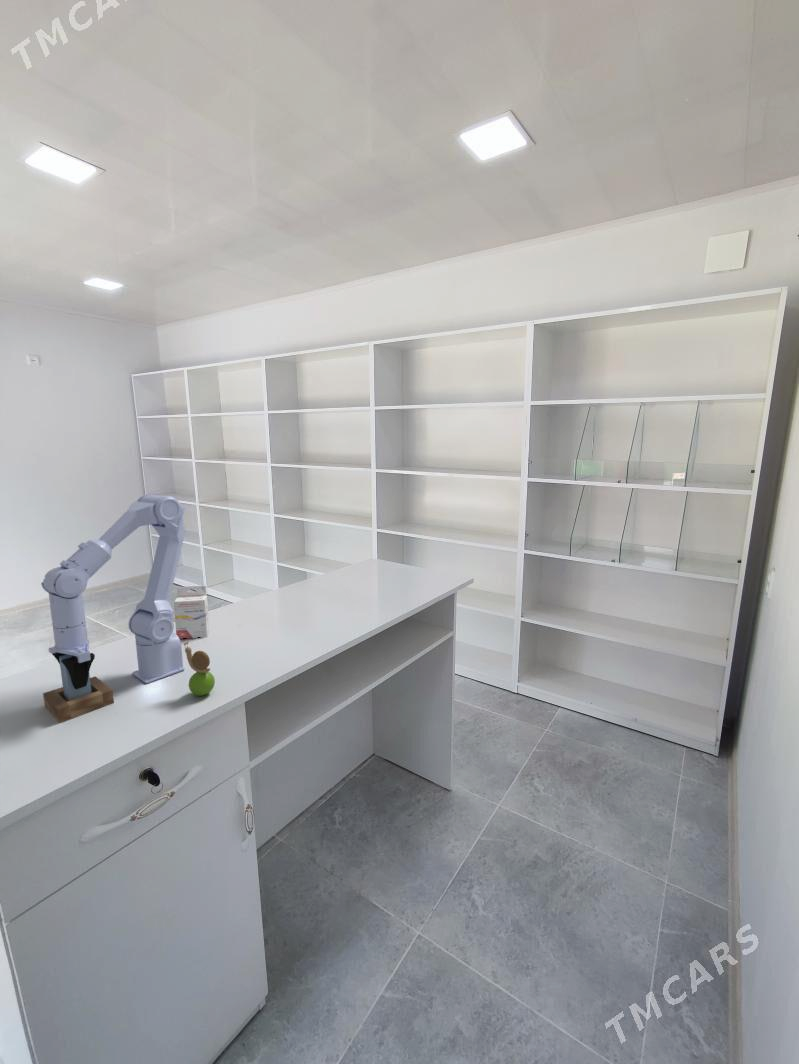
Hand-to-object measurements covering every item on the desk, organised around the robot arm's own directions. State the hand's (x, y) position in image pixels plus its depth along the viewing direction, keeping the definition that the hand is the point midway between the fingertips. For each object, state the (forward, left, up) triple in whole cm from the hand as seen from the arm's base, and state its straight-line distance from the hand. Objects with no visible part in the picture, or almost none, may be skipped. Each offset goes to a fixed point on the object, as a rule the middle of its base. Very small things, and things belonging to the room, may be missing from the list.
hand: (76, 683), depth 102 cm
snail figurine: (-19, +16, -5) cm, 25 cm away
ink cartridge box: (-35, -18, -5) cm, 40 cm away
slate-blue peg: (0, 0, -3) cm, 3 cm away
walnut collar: (0, 0, -5) cm, 5 cm away
